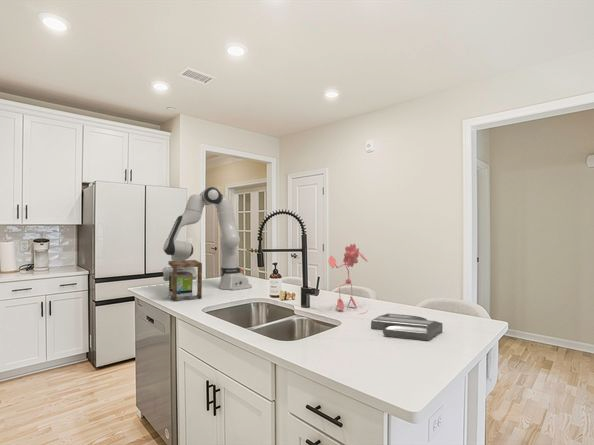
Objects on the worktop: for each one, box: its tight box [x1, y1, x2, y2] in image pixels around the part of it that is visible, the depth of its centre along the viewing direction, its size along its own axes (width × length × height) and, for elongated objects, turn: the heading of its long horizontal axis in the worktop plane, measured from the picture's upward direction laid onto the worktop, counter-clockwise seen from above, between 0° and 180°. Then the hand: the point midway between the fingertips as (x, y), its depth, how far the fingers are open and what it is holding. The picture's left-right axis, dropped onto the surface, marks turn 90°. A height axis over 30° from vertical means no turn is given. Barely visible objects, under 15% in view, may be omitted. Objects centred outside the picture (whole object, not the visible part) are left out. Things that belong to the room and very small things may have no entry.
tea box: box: [168, 271, 194, 297], centre depth 200 cm, size 15×10×15 cm, turn 36°
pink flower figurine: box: [327, 243, 369, 315], centre depth 172 cm, size 15×26×35 cm, turn 130°
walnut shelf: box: [167, 259, 203, 303], centre depth 201 cm, size 16×20×21 cm
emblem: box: [370, 313, 444, 341], centre depth 142 cm, size 28×5×28 cm
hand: (181, 285), depth 208 cm, fingers closed
